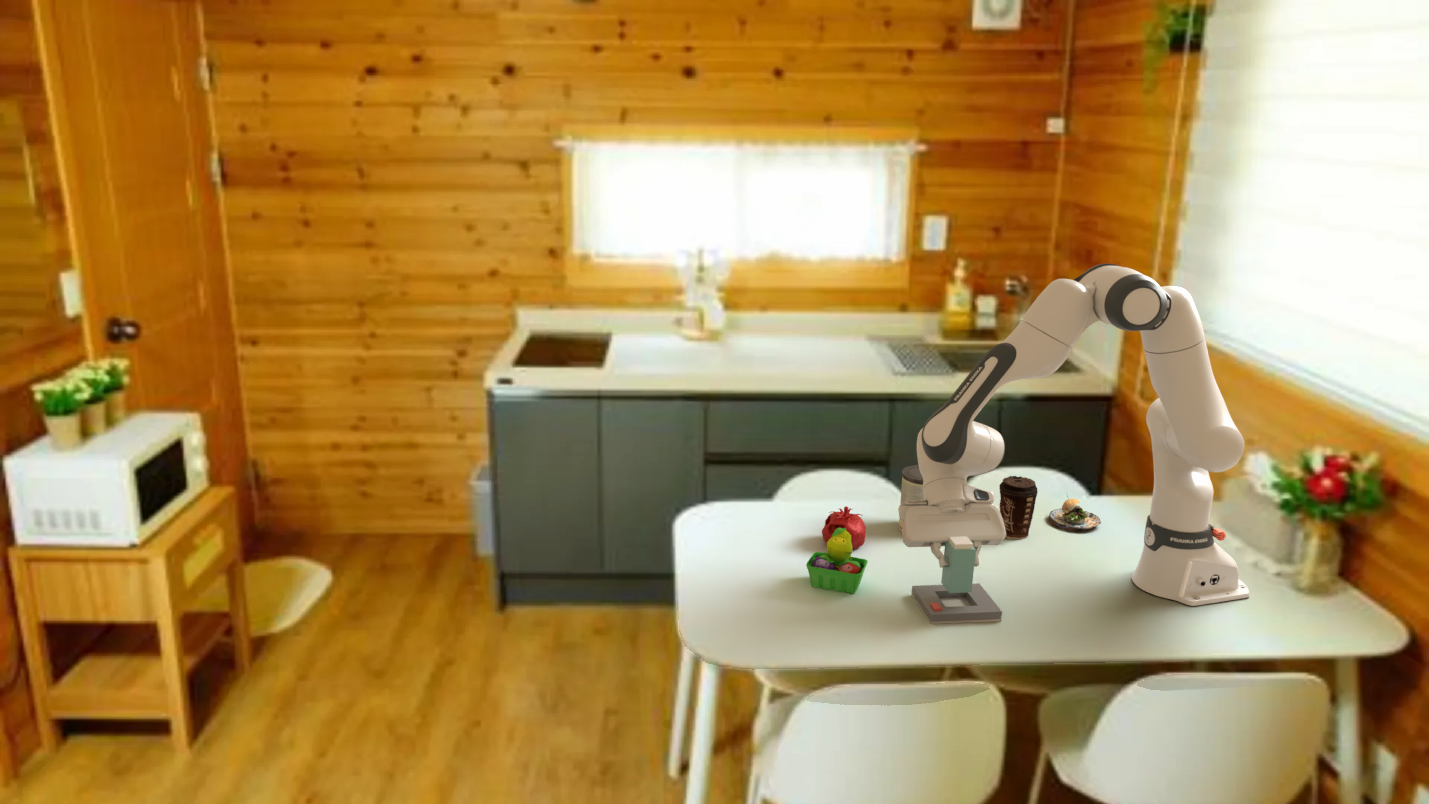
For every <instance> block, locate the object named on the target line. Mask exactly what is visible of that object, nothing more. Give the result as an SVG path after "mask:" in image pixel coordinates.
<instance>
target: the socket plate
mask: <svg viewBox="0 0 1429 804" xmlns="http://www.w3.org/2000/svg"><path fill="white" fill-rule="evenodd" d="M911 596H912V598H913V599H914V601H915V603H916V604H917V606H918V607H919V609H920V610H921V612H922V614H923V615H924V617H925V618H926V619H927V622H928V623H929V624H930V625H935V624H936V625H937V624H957V623H958V624H959V623H961V624H962V623H964V624H965V623H982V622H983V623H986V622H987V623H988V622H1002V614H1003V611H1002V610H1001V608H1000V607H999V606H998V605H997V604H996V602H995V601H994V600H993V599H992V597H991V596H990V595H989V594H988V592H987V591H986V589H984V587H983V586H982V585H981V583H979V582H978V583H972V591H971V592H968V593H948V591H947V590H946V588H945V587H944V586H943V584H930V585H929V584H928V585H927V584H925V585H912V586H911Z"/></svg>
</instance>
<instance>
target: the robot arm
mask: <svg viewBox="0 0 1429 804" xmlns="http://www.w3.org/2000/svg"><path fill="white" fill-rule="evenodd" d="M1096 322H1102V323H1104V324H1106V325H1111V326H1113V327H1114V328H1117V329H1119V330H1122V331H1127V332H1139V334H1140V336H1141V341H1142V347H1143V351H1144V356H1145V360H1146V366H1147V369H1148V374H1149V379H1150V383H1151V386H1152V388H1153V390H1154V391H1155V393H1156V394H1157V396H1158V398H1156V399H1155V400H1154V401H1153V402H1152V403H1151V404H1150V406H1149V407H1148V409H1147V412H1146V415H1145V422H1146V425H1147V428H1148V431H1149V434H1150V441H1151V450H1152V461H1153V490H1152V497H1151V504H1150V505H1151V506H1150V511H1149V514H1148V515H1147V517H1146V522H1145V528H1144V536H1143V548H1142V551H1141V554H1140V558H1139V560H1138V563H1137V566H1136V567H1135V570H1134V571H1133V573H1132V575H1131V581H1132V583H1134V585H1135V586H1136V587H1138V588H1139V589H1140V590H1142V591H1145V592H1147V593H1148V594H1151V595H1154V596H1156V597H1160V598H1163V599H1168V600H1173V601H1177V602H1179V603H1181V604H1184V605H1187V606H1192V607H1195V606H1203V605H1208V604H1209V605H1210V604H1215V603H1221V602H1222V603H1223V602H1228V601H1229V602H1230V601H1234V600H1241V599H1247V598H1249V597H1250V590H1249V589H1250V588H1249V587H1248V586H1247V585H1246V584H1245V582H1244V581H1242V580H1241V579H1240V577H1239V576H1240V574H1239V573H1240V572H1239V567H1238V564H1237V562H1236V560H1235V559H1234V558H1233V557H1232V556H1231V555H1230V554H1229V553H1227V552H1226V551H1225V550H1224V549H1223V548H1222V547H1221V546H1220V545H1218V544H1217V543H1216V542H1215V541H1214V538H1215V539H1216V540H1218V541H1219V542H1220V541H1221V542H1222V541H1224V540H1225V539H1226V538H1227V533H1226V532H1225V531H1223V530H1222V529H1220V528H1215V526H1213V525H1212V524H1211V523H1210V518H1211V512H1212V505H1213V500H1214V486H1213V483H1212V480H1211V477H1210V473H1209V472H1211V473H1222V472H1226V471H1228V470H1230V469H1232V468H1234V467H1235V466H1236V465H1237V464H1238V463H1239V461H1240V460H1241V459H1242V457H1243V455H1244V451H1245V439H1244V437H1243V435H1242V433H1241V432H1240V430H1239V428H1238V427H1237V426H1236V424H1235V422H1234V420H1233V419H1232V416H1231V414H1230V412H1229V409H1228V407H1227V404H1226V401H1225V399H1224V397H1223V395H1222V393H1221V390H1220V388H1219V386H1218V383H1217V381H1216V378H1215V376H1214V373H1213V372H1214V371H1213V369H1212V363H1211V360H1210V355H1209V350H1208V346H1207V342H1206V336H1205V332H1204V327H1203V324H1202V319H1201V317H1200V314H1199V312H1198V309H1197V307H1196V305H1195V301H1194V299H1193V297H1192V295H1191V294H1190V293H1189V291H1188V290H1186V289H1185V288H1183V287H1180V286H1176V285H1164V286H1160V284H1159V283H1157V281H1155V280H1154V279H1153V278H1152V277H1150V276H1148V275H1145V274H1143V273H1141V272H1140V271H1137V270H1135V269H1132V268H1130V267H1127V266H1126V267H1125V266H1124V267H1123V266H1120V265H1118V264H1115V263H1099V264H1096V265H1094V266H1092V267H1090V268H1088V269H1087V270H1086V271H1084V272H1083V273H1082V274H1080V275H1079V276H1078V277H1075V278H1074V279H1071V278H1069V279H1068V278H1057V279H1054V280H1052V281H1051V282H1050V283H1049V284H1048V285H1047V286H1046V287H1045V288H1044V289H1043V291H1042V292H1040V293H1039V294H1038V296H1037V297H1036V299H1035V300H1034V302H1032V304H1031V305H1030V306H1029V308H1028V309H1027V311H1026V312H1025V314H1024V315H1023V317H1022V319H1021V320H1020V321H1019V323H1018V324H1017V326H1016V327H1015V328H1014V330H1012V332H1011V333H1010V334H1009V335H1008V336H1007V337H1006V338H1005V339H1004V340H1002V341H1001V342H1000V343H999V344H996V345H994V346H992V347H991V348H990V349H989V350H988V351H987V352H986V353H985V354H984V355H983V356H982V358H980V360H979V361H978V362H977V363H976V364H975V366H974V367H973V368H972V369H971V371H970V372H969V373H968V375H966V377H965V378H964V379H963V381H962V382H961V384H959V386H958V387H957V389H956V390H955V391H954V392H953V394H951V396H950V397H949V399H948V400H947V401H945V403H944V404H943V405H942V406H941V407H940V408H939V409H937V410H936V411H935V412H934V413H932V415H931V416H929V418H928V419H927V420H926V422H925V423H924V426H923V427H922V428H921V429H920V431H919V432H918V434H917V437H916V438H917V440H916V457H917V463H918V464H917V465H919V470H920V473H921V475H922V477H923V493H924V498H925V500H921V501H905V502H904V503H902V504H901V505H899V506H898V516H899V518H900V519H901V520H902V532H901V534H902V535H901V537H902V538H901V539H902V543H903V544H904V545H905V546H906V547H907V548H928V547H930V551H931V553H932V554H933V556H934V557H935V558H936V559H937V560H938V565H939V568H941V569H943V568H944V567H948V566H949V565H950V563H949V561H948V560H949V557H948V556H944V553H943V552H942V551H941V548H942V547H945V542H949V537H959V536H967V537H968V538H969V540H970V541H971V542H972V543H973V547H974V548H975V549H976V554H975V563H974V568H975V567H978V566H979V565H980V561H979V556H980V555H979V554H980V552H981V549H982V547H983V546H998V545H1001V543H1002V542H1003V541H1005V539H1006V530H1005V526H1004V522H1003V519H1002V516H1001V513H1000V508H998V507H997V505H995V504H994V501H995V495H994V493H993V492H992V491H990V490H985V489H982V488H979V487H978V488H977V487H976V486H972V485H969V484H968V482H967V481H968V477H975V476H979V475H983V474H988V473H991V472H993V471H994V470H995V469H997V468H998V467H999V466H1000V464H1001V463H1002V462H1003V459H1004V456H1005V451H1006V443H1005V440H1004V436H1003V435H1002V434H1001V433H1000V432H999V430H996V429H995V428H993V427H990V426H988V425H986V424H984V423H981V422H978V421H974V420H975V418H976V417H977V416H978V415H979V413H980V412H981V411H982V409H983V408H984V407H985V406H986V404H987V403H988V402H989V401H990V399H991V398H992V397H993V396H994V395H995V393H996V392H997V391H998V390H999V389H1000V388H1002V387H1003V386H1004V385H1007V384H1008V383H1011V382H1014V381H1015V382H1016V381H1019V380H1020V381H1021V380H1027V379H1028V380H1030V379H1031V380H1032V379H1033V380H1034V379H1040V378H1045V377H1048V376H1050V375H1053V374H1055V372H1056V371H1058V370H1059V368H1060V367H1061V366H1063V364H1064V363H1065V362H1066V361H1067V359H1068V357H1069V355H1070V354H1071V352H1072V351H1073V350H1074V347H1075V346H1076V344H1077V342H1078V341H1079V340H1080V338H1081V335H1082V334H1083V333H1084V332H1085V331H1086V330H1087V329H1088V328H1089V327H1090V326H1091V325H1093V324H1095V323H1096ZM903 505H905V506H903Z"/></svg>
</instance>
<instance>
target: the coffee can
mask: <svg viewBox="0 0 1429 804" xmlns="http://www.w3.org/2000/svg"><path fill="white" fill-rule="evenodd" d="M901 476H902V478H901V488H900V489H901V490H900V492H901V493H900V503H899V504H900V505H901V504H902V503H904V502H905V501H921V500H925V498H924V493H923V477H922V475H921V473H920V470H919V464H915V465H914V464H913V465H909V466H906V467H904V468H903V469H902V470H901ZM900 505H899V506H900ZM903 506H905V505H903ZM898 519H899V523H898V530H899V531H900V532H901V533H902V520H901V519H900V517H899V518H898Z"/></svg>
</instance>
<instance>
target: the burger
mask: <svg viewBox="0 0 1429 804" xmlns="http://www.w3.org/2000/svg"><path fill="white" fill-rule="evenodd" d="M1066 495H1067V498H1068V499H1065V501H1063V503H1062V505H1061V508H1058V509H1057V508H1056V509H1054V510H1051V511H1050V512H1049V517H1048V523H1049V524H1050V525H1051V526H1052V527H1054V528H1055V529H1058V530H1062V531H1066V532H1069V533H1072V534H1073V533H1075V531H1077V530H1090V529H1093V528H1095V527H1098V526H1099V525H1101V524H1102V521H1101V519H1100V518H1099V516H1097V515H1096V514H1094V513H1092V512H1088V511H1086V510H1084V509H1083V507H1080V505H1079V503H1080V500H1079V499H1075V498H1069V496H1068V492H1066Z"/></svg>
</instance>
